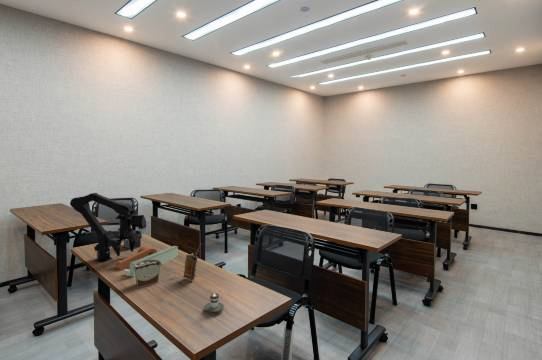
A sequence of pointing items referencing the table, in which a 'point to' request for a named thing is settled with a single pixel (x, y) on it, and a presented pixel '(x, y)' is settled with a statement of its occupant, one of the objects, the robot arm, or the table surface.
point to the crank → (135, 257)
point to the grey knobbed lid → (214, 304)
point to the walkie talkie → (190, 266)
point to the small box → (137, 245)
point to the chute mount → (155, 258)
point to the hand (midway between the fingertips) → (125, 253)
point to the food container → (147, 272)
